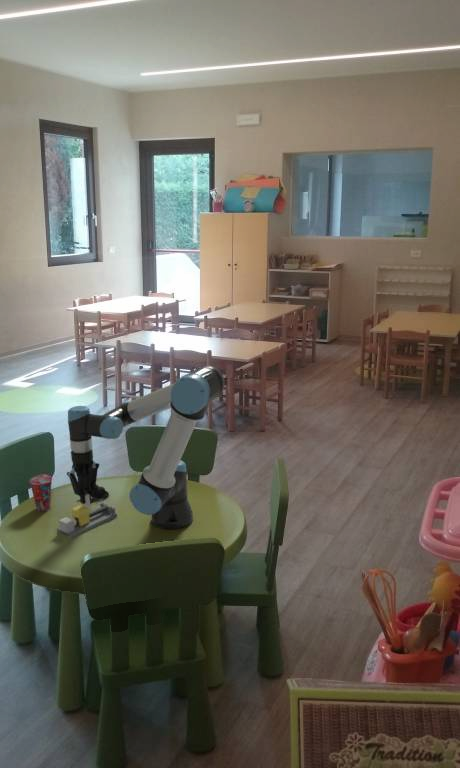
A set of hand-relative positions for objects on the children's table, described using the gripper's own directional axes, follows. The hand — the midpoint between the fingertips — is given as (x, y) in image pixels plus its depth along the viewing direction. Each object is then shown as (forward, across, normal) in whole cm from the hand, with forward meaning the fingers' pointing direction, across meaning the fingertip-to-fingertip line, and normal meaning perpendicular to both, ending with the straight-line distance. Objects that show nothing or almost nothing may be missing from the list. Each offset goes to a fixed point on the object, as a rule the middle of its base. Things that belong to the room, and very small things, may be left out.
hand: (86, 510), depth 250 cm
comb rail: (+5, 0, 0) cm, 5 cm away
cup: (+6, +3, -24) cm, 25 cm away
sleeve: (+4, +3, 0) cm, 5 cm away
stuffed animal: (+6, -15, -16) cm, 23 cm away
